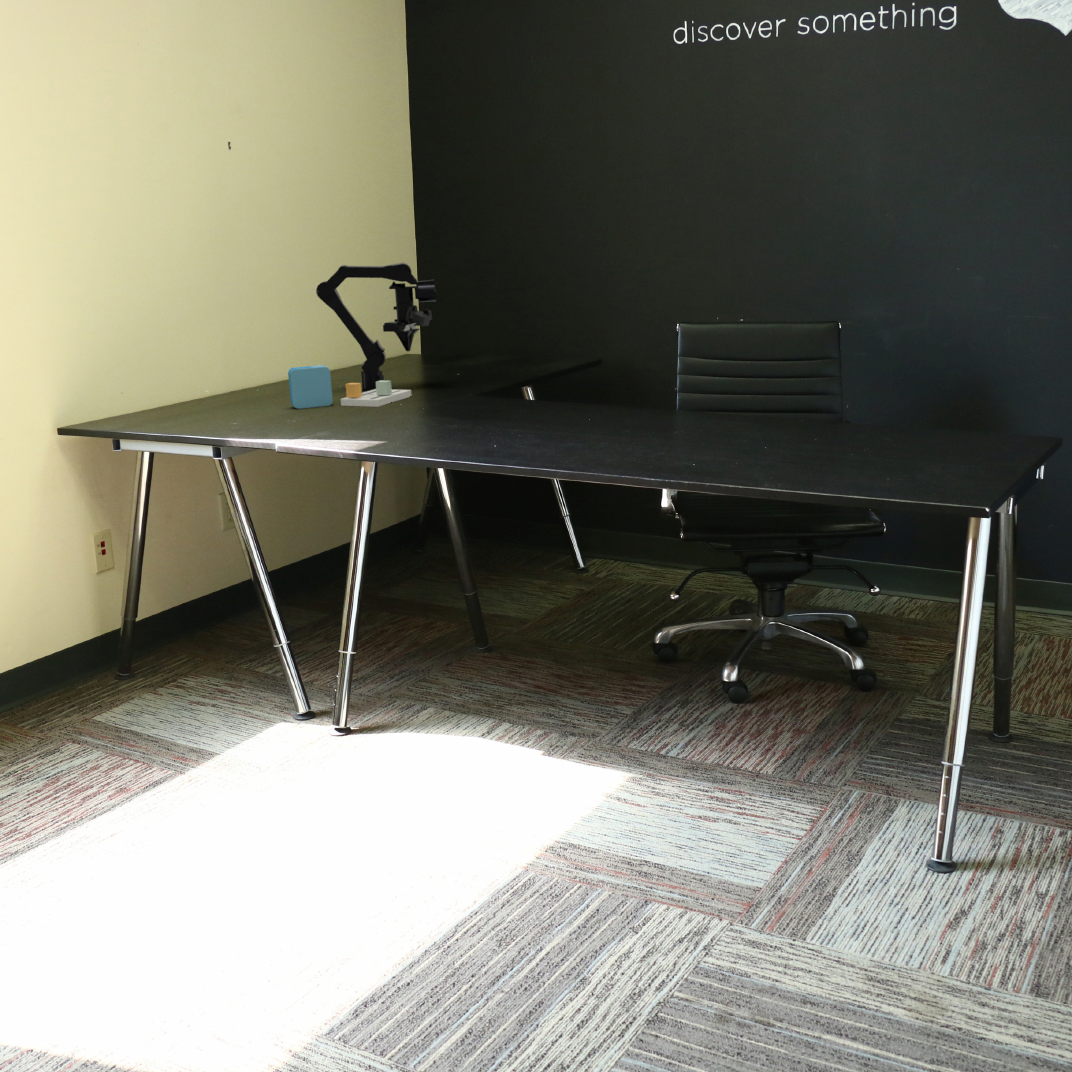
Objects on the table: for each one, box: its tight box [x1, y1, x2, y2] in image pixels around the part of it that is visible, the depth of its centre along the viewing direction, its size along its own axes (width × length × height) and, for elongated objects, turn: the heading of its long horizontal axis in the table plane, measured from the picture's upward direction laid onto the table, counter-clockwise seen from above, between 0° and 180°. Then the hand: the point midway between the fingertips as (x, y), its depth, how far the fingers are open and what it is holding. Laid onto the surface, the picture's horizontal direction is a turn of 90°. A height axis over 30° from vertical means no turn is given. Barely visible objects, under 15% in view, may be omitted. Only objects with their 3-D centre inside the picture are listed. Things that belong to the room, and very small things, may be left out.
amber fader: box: [345, 382, 363, 398], centre depth 357 cm, size 4×3×4 cm
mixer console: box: [340, 388, 412, 408], centre depth 362 cm, size 13×20×2 cm, turn 155°
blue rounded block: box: [287, 364, 334, 410], centre depth 356 cm, size 12×4×12 cm, turn 110°
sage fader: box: [376, 380, 392, 395], centre depth 359 cm, size 4×3×4 cm
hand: (408, 351), depth 383 cm, fingers closed
